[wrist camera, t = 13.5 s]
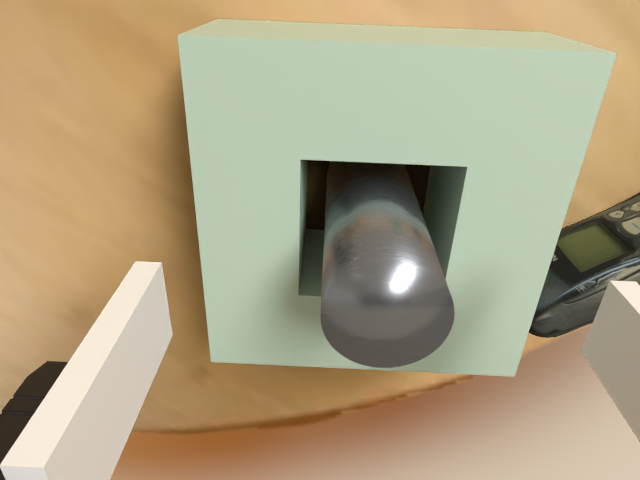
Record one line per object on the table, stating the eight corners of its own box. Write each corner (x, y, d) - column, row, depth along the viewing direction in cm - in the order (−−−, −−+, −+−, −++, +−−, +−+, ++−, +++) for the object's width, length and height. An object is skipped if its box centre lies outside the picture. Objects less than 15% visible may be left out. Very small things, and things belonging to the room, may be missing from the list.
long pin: (325, 213, 25) (318, 364, 15) (328, 139, 23) (322, 258, 13) (402, 217, 25) (443, 370, 15) (411, 142, 23) (465, 265, 13)
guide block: (234, 287, 27) (211, 362, 22) (218, 18, 21) (177, 35, 15) (480, 298, 27) (514, 376, 22) (545, 32, 20) (617, 53, 15)
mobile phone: (851, 152, 18) (489, 339, 22) (865, 210, 19) (519, 377, 24) (748, 118, 22) (463, 280, 27) (764, 167, 24) (488, 315, 28)
